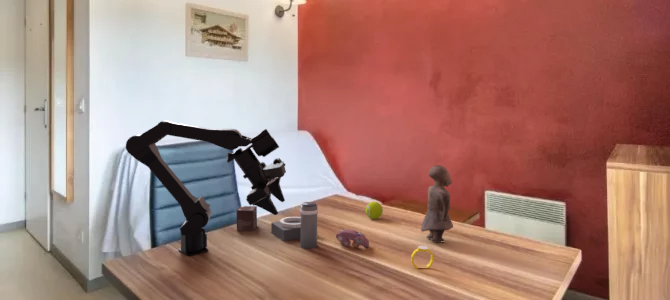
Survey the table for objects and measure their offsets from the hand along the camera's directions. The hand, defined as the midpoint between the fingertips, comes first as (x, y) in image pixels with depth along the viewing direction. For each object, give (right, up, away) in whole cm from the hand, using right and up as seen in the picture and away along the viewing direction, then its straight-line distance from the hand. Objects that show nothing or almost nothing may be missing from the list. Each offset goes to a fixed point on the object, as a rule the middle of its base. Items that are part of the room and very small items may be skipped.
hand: (280, 207), depth 123 cm
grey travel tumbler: (+8, -12, +3) cm, 15 cm away
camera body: (+3, -11, +14) cm, 18 cm away
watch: (+41, -15, -12) cm, 45 cm away
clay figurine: (+50, -13, +10) cm, 53 cm away
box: (-14, -10, +20) cm, 26 cm away
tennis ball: (+32, -9, +34) cm, 48 cm away
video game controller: (+22, -13, +3) cm, 26 cm away
